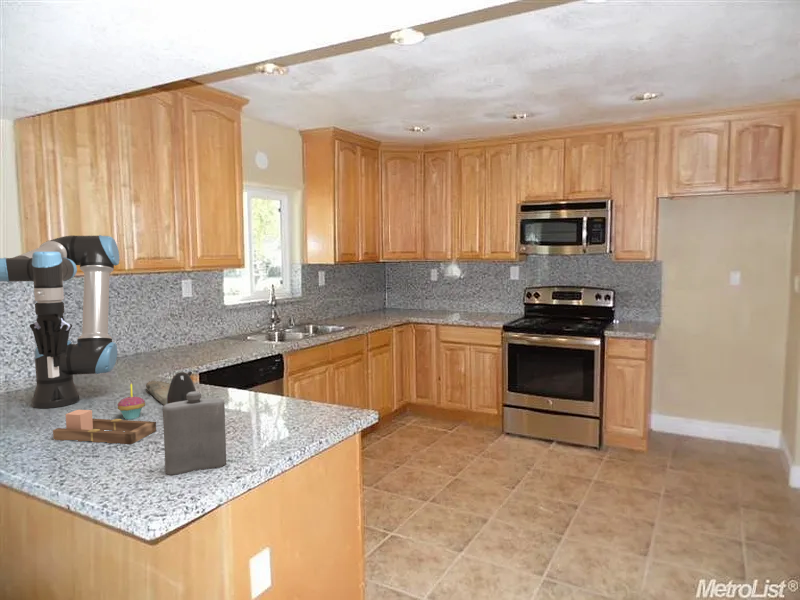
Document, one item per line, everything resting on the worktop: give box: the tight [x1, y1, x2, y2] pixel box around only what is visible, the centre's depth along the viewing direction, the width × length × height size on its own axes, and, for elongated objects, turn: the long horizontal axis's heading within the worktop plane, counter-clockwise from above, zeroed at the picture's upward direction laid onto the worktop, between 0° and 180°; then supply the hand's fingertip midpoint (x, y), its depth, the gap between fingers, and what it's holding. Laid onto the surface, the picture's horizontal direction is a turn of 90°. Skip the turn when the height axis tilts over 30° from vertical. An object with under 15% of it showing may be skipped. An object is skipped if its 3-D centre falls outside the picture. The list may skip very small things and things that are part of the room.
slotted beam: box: [52, 418, 157, 445], centre depth 164 cm, size 12×26×3 cm, turn 81°
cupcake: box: [117, 381, 146, 420], centre depth 182 cm, size 9×8×12 cm
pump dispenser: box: [166, 371, 197, 404], centre depth 184 cm, size 10×10×15 cm
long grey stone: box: [145, 380, 170, 406], centre depth 210 cm, size 35×5×10 cm
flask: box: [162, 390, 227, 476], centre depth 138 cm, size 15×6×20 cm, turn 115°
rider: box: [65, 409, 93, 430], centre depth 165 cm, size 5×5×7 cm
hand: (53, 376), depth 165 cm, fingers closed
